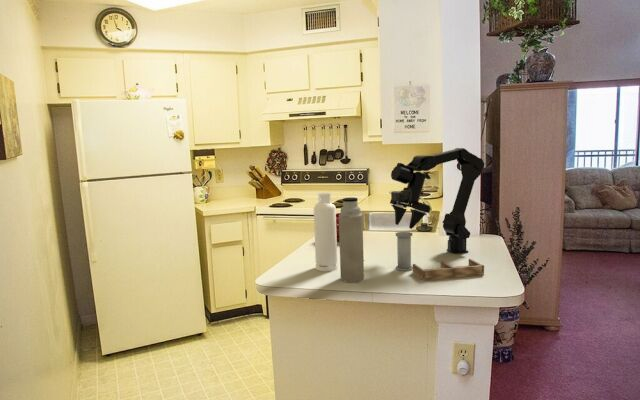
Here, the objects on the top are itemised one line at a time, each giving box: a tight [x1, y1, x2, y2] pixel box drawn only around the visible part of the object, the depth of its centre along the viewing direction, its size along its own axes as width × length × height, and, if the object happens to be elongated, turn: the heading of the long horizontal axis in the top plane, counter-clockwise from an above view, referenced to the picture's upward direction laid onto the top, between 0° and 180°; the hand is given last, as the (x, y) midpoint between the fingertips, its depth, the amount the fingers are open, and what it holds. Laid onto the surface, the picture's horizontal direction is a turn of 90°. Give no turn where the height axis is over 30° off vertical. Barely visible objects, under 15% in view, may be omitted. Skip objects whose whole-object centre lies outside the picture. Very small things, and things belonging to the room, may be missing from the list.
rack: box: [412, 258, 485, 282], centre depth 153 cm, size 22×9×3 cm, turn 100°
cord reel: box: [395, 231, 413, 272], centre depth 160 cm, size 6×6×13 cm
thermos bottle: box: [339, 197, 365, 283], centre depth 150 cm, size 8×8×28 cm
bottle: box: [313, 192, 338, 272], centre depth 163 cm, size 8×8×28 cm
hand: (403, 226), depth 169 cm, fingers open, 9 cm apart
